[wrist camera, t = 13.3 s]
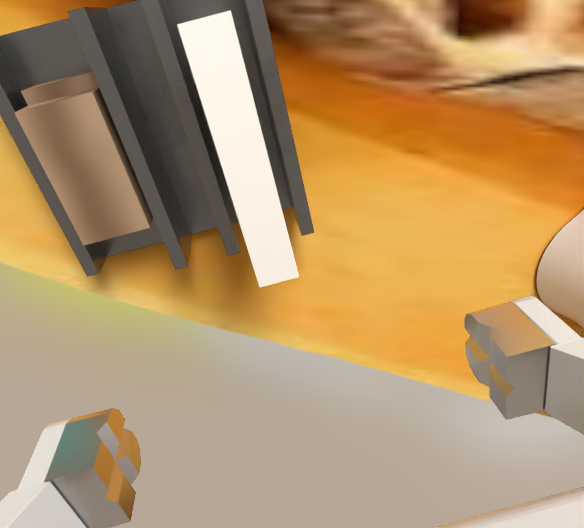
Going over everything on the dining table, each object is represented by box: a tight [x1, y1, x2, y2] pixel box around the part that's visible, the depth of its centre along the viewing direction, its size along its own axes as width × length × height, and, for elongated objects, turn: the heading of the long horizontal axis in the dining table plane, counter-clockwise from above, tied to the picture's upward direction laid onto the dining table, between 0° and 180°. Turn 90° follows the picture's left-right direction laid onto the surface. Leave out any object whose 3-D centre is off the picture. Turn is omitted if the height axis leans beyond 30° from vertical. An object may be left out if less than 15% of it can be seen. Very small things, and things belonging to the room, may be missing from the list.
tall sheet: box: [177, 10, 299, 287], centre depth 30 cm, size 2×14×15 cm, turn 13°
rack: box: [0, 0, 314, 277], centre depth 34 cm, size 19×18×7 cm
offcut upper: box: [15, 87, 153, 246], centre depth 33 cm, size 5×10×2 cm, turn 13°
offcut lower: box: [21, 71, 99, 106], centre depth 35 cm, size 5×11×2 cm, turn 13°
